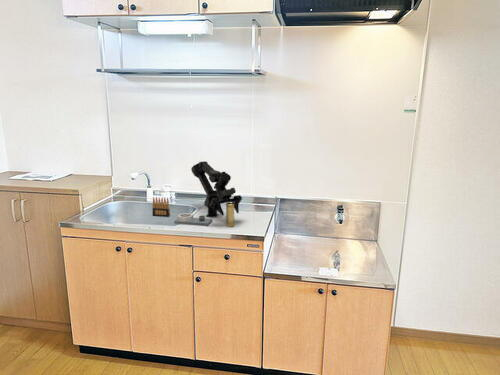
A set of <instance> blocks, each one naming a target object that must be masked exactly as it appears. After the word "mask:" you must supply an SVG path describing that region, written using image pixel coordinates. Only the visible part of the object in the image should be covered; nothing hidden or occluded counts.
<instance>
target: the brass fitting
mask: <svg viewBox="0 0 500 375" xmlns="http://www.w3.org/2000/svg"><path fill="white" fill-rule="evenodd" d="M225 209H226V211H225V213H226V214H225V221H226V222H225V226H226V228H233V227H234V226H235V208H234V203H232V202H228V203H225Z"/></svg>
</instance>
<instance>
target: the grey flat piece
mask: <svg viewBox="0 0 500 375" xmlns="http://www.w3.org/2000/svg"><path fill="white" fill-rule="evenodd" d="M212 222H213V218H210V217H209V218H207V217H206V215H199V216H198V217H194V215H193V214H192V213H187V212H184V213H179V214H178V215H177V218H176V219H174V222H173V223H174V224H175V225H188V226H189V225H190V226H201V227H202V226H204V227H209V226H210V225H211V224H212Z"/></svg>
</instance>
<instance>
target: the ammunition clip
mask: <svg viewBox="0 0 500 375" xmlns="http://www.w3.org/2000/svg"><path fill="white" fill-rule="evenodd" d="M170 209H171V208H170V202H169V198H168V197H164V198H163V197H159V196H158V197H157V196H156V197H155V196H153V197H152V217H160V218H161V217H162V218H170V217H171V211H170Z"/></svg>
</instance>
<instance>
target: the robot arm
mask: <svg viewBox="0 0 500 375" xmlns="http://www.w3.org/2000/svg"><path fill="white" fill-rule="evenodd" d="M191 173H192V175H193V176H194V177H196V178H198V180H199V182H200V184H201V185H202V186H201V187H202V188H203V190H204V192H205V194H206V197H205V200H204V202H203V204H204V206H205V207H206V208H207V214H206V215H205V217H209V218H210V217H212V218H216V217H218V215H219V214H220V215H222V216H223V217H224V216H225V213H224V210H223V208H222V206H221V204H226V203H234V211H235V212H236V214H239V213H240V212H239V204H240V203H241V201H242V200H243V197H242V195H234V194H236V189H235V187H230V189H229V188H227V186H228V184H229V182H230V181H231V178H232V176H231V175H230V174H229V173H227V172H226V171H219V170H216V169H214V168H213V167H212V166H211V165H210V164H209V163H208V161H199V162H198V163H196V164H193V165H192V167H191ZM206 174H207V175H206ZM210 182H211V183H212V184H213V183H214V186H212V184H211V183H210ZM233 195H234V196H233ZM232 196H233V197H232Z"/></svg>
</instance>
